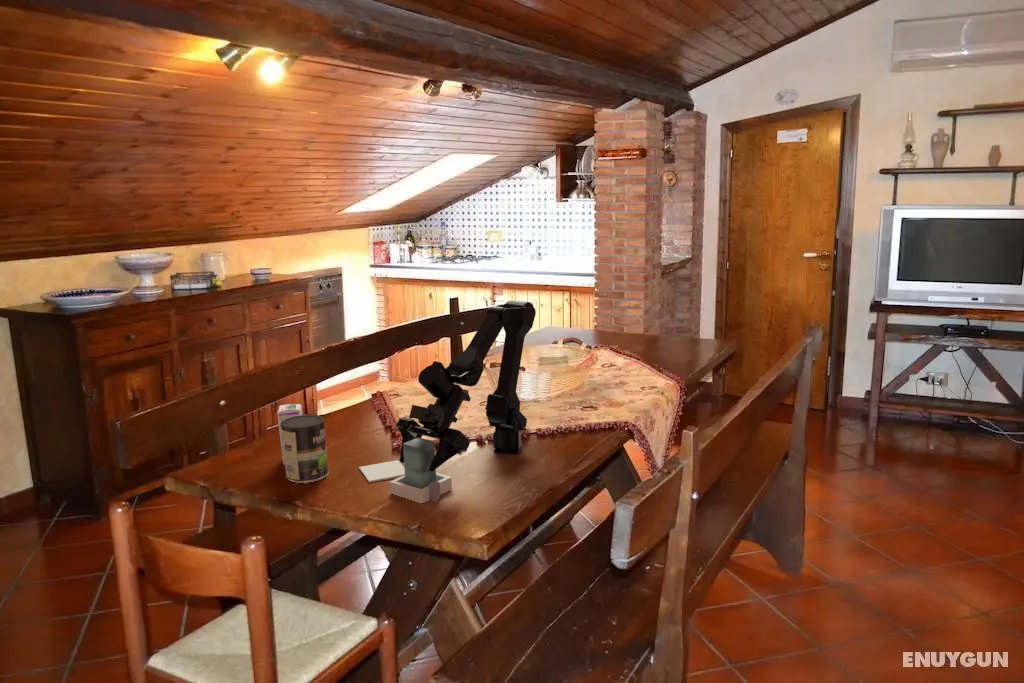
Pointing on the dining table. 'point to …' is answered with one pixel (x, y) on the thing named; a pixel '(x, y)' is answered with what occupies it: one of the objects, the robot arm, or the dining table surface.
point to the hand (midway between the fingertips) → (415, 466)
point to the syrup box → (286, 413)
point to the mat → (383, 471)
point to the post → (419, 462)
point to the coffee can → (304, 448)
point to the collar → (421, 495)
